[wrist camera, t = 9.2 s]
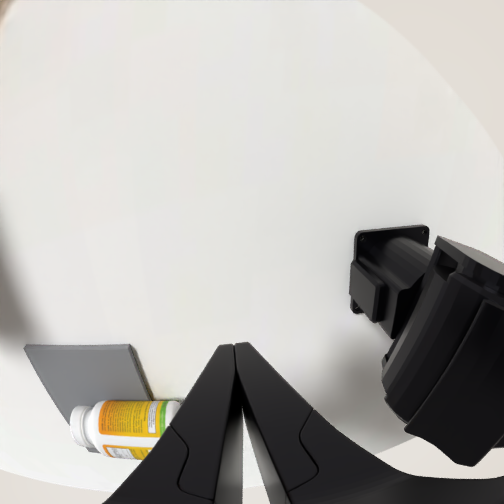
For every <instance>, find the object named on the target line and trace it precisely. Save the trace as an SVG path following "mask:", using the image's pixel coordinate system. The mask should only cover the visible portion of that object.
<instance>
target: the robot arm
mask: <svg viewBox="0 0 504 504" xmlns="http://www.w3.org/2000/svg"><path fill="white" fill-rule="evenodd" d="M423 230H424V233H423V234H422V231H423ZM361 236H364V239H363V240H362V241H360V238H361ZM428 241H429V228H428V227H427V226H425V225H413V226H402V227H392V228H381V229H371V230H361V231H358V232H357V233H356V235H355V238H354V260H353V261H352V263H351V270H350V286H349V294H350V295H351V304H350V308H351V310H352V311H353V313H355V314H359V313H365V314H366V315H367V317H368V318H369V319H370V320H371V321H372V322H373V323H377V322H378V323H379V324H380V325H381V327H382V328H383V329H384V330H385V332H386V333H387V334H388V335H389V337H390V338H391V339H395V340H394V342H393V344H392V346H391V348H390V350H389V351H388V353H387V354H385V356H384V358H383V359H382V367H383V370H382V383H383V386H384V389H385V392H386V393H387V394H386V396H385V398H384V399H385V401H386V403H387V405H388V406H389V407H390V409H391V410H392V411H393V412H394V413H395V414H396V415H397V417H398V418H399V419H401V420H402V421H403V422H404V423H406V424H407V425H406V426H405V428H404V431H405V432H406V433H409V434H412V435H415V436H417V437H420V438H422V439H424V440H426V441H428V442H429V443H431V444H433V445H435V446H436V447H437V448H438V449H440V450H441V451H442V452H443V453H444V454H445V455H446V456H448V457H449V458H450V459H451V460H452V461H453V462H455V463H457V464H460V465H464V466H469V467H473V466H475V465H476V464H477V463H478V462H480V461H481V459H482V458H483V457H484V456H485V455H486V454H487V453H488V452H489V451H490V450H491V449H493V448H504V263H502V262H500V261H498V260H497V259H495V258H493V257H491V256H489V255H487V254H485V253H483V252H481V251H479V250H476V249H474V248H471V247H468V246H466V245H463V244H460V243H458V242H455V241H452V240H449V239H447V238H444V237H441V236H437V238H436V241H435V245H436V246H435V249H434V250H432V249H430V248H429V247H428ZM358 305H359V307H358V308H356V306H358ZM242 409H243V410H242ZM243 415H244V419H245V423H246V427H247V430H248V434H249V437H250V440H251V444H252V447H253V450H254V454H255V457H256V460H257V464H258V467H259V470H260V473H261V476H262V479H263V483H264V486H265V489H266V491H267V495H268V498H269V501H270V504H504V476H501V477H497V478H490V479H449V478H434V477H422V476H415V475H411V474H407V473H404V472H401V471H399V470H397V469H395V468H393V467H391V466H390V465H388V464H387V463H385V462H383V461H382V460H380V459H379V458H377V457H376V456H374V455H372V454H371V453H369V452H368V451H366V450H365V449H363V448H362V447H360V446H359V445H357V444H356V443H354V442H353V441H352V440H350V439H349V438H348V437H346V436H345V435H343V434H342V433H341V432H339V431H338V430H337V429H336V428H334V427H333V426H332V425H331V424H330V423H329V422H328V421H327V420H325V419H324V418H323V417H322V416H321V415H320V414H319V413H318V412H317V411H316V410H313V407H312V406H311V405H310V404H309V403H308V402H307V401H306V400H305V399H304V398H303V397H302V396H301V395H300V394H299V393H298V392H297V391H296V390H295V389H294V388H293V387H292V386H291V385H290V384H289V383H288V382H287V381H286V380H285V379H284V378H283V377H282V376H281V375H280V374H279V373H278V372H277V371H276V370H275V369H274V368H273V367H272V366H271V365H270V364H269V363H268V362H267V361H266V360H265V359H264V358H263V357H262V356H261V354H260V353H259V352H258V351H257V350H256V349H255V348H254V347H253V346H252V345H251V344H250V343H249V342H242V343H236V344H235V345H233V344H224V345H219V346H218V347H217V349H216V351H215V352H214V354H213V355H212V357H211V359H210V360H209V362H208V363H207V365H206V367H205V368H204V370H203V371H202V373H201V375H200V376H199V378H198V379H197V381H196V383H195V384H194V386H193V387H192V389H191V390H190V392H189V394H188V395H187V397H186V398H185V400H184V402H183V403H182V405H181V406H180V408H179V409H178V411H177V412H176V414H175V416H174V417H173V419H172V420H171V422H170V423H169V425H170V426H167V428H166V429H165V431H164V432H163V434H162V436H161V437H160V438H159V440H158V441H157V443H156V444H155V446H154V447H153V448H152V450H151V451H150V452H149V453H148V455H147V456H146V457H145V458H144V459H143V461H142V462H141V463H140V464H139V465H138V467H137V468H136V469H135V470H134V471H133V472H132V473H131V474H130V475H129V477H128V478H127V479H126V480H125V481H124V482H123V483H122V484H121V485H120V486H119V488H118V489H117V490H116V491H115V492H114V493H113V494H112V495H111V496H110V497H109V498H108V499H107V500H106V501H105V502H104V503H102V504H242V489H243Z"/></svg>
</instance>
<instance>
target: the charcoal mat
mask: <svg viewBox="0 0 504 504" xmlns="http://www.w3.org/2000/svg"><path fill="white" fill-rule="evenodd" d="M24 350H25V352H26V354H27V356H28V358H29V360H30V362H31V364H32V366H33V368H34V369H35V371H36V373H37V375H38V377H39V378H40V380H41V382H42V384H43V385H44V387H45V389H46V390H47V392H48V394H49V395H50V397H51V398H52V400H53V402H54V403H55V405H56V406H57V408H58V409H59V411H60V412H61V414H62V415H63V417H64V418H65V420H66V421H67V423H68V424H69V425H70V417H71V413H72V411H73V409H74V408H75V407H77V406H90V407H94V406H95V405H96V404H97V403H98V402H100V401H104V400H115V401H151V398H150V396H149V394H148V391H147V389H146V386H145V384H144V381H143V379H142V376H141V374H140V371H139V369H138V366H137V364H136V361H135V358H134V356H133V353H132V350H131V347H130V344H121V345H26V346H25V347H24ZM86 448H87V450H88V451H89V452H94V453H100V452H99V451H98V450H97V449H96V447H95V448H89V447H86Z"/></svg>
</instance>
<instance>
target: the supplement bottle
mask: <svg viewBox="0 0 504 504" xmlns="http://www.w3.org/2000/svg"><path fill="white" fill-rule="evenodd" d="M180 406H181V405H180V403H179V402H177V401H115V400H104V401H100V402H98V403H97V404H96V405H95V406H94V407H90V406H77V407H75V408H74V409H73V411H72V413H71V417H70V430H71V434H72V436H73V439H74V440H75V442H76V443H77V444H78V445H80V446H83V447H89V448H95V447H96V449H97V450H98V451H99V452H100V453H101V454H103V455H105V456H107V457H114V458H124V459H137V460H143V459H144V458H145V457H146V456H147V455H148V453H149V452H150V451H151V450H152V448H153V447H154V446H155V444H156V443H157V441H158V440H159V438H160V437H161V436H162V434H163V432H164V431H165V429H166V428H167V426H170V425H169V423H170V422H171V420H172V419H173V417H174V416H175V414H176V412H177V411H178V409H179V408H180Z"/></svg>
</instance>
